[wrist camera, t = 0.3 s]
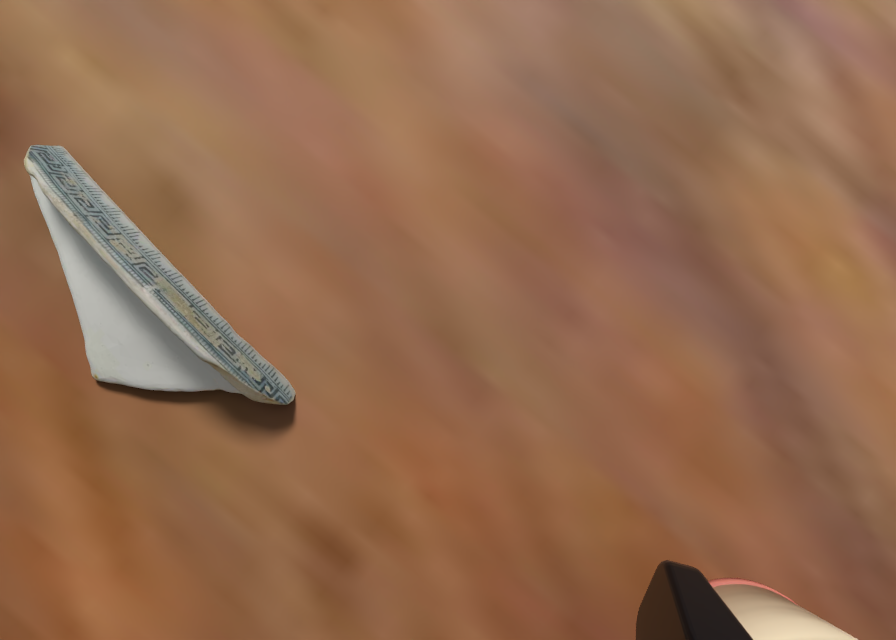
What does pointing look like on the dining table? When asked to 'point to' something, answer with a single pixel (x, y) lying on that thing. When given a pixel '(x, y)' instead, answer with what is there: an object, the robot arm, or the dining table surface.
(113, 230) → the ceramic fragment
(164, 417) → the dining table surface
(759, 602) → the maple leg
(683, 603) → the robot arm
